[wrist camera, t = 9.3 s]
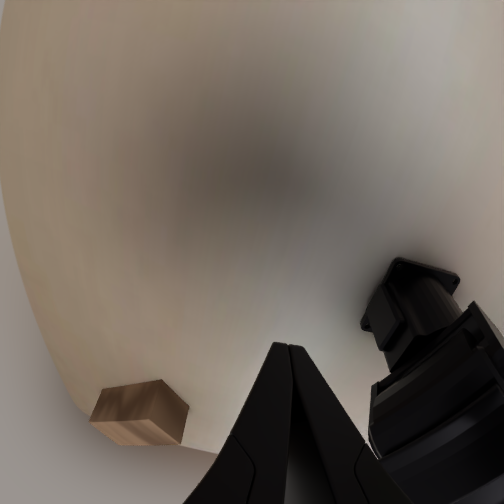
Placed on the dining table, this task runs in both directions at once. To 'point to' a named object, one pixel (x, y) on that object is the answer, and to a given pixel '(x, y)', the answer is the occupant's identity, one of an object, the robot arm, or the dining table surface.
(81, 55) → the dining table surface
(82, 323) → the dining table surface
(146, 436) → the walnut block
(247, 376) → the dining table surface
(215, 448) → the dining table surface
